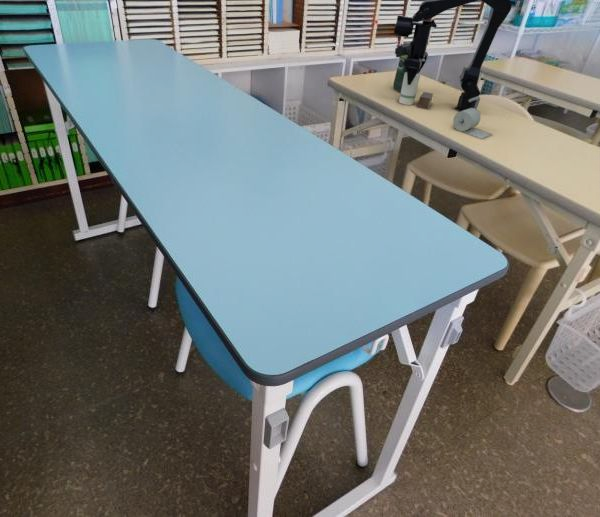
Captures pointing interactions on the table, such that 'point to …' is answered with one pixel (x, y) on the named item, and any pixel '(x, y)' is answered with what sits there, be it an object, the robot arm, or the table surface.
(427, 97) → the wooden block
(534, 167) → the table surface
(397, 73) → the coffee jar
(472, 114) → the toilet paper roll
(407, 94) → the cylindrical container with lid
